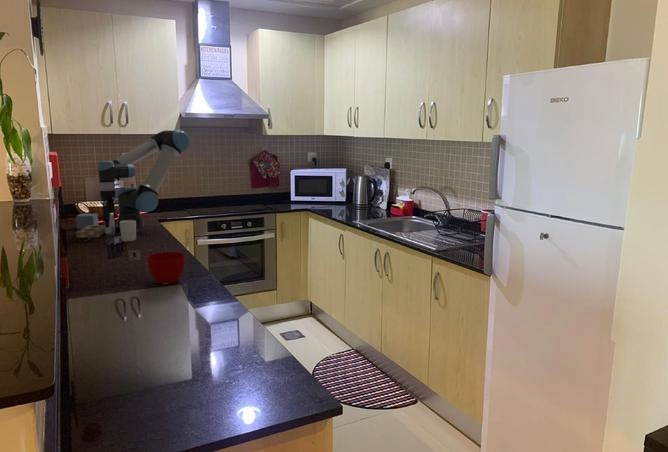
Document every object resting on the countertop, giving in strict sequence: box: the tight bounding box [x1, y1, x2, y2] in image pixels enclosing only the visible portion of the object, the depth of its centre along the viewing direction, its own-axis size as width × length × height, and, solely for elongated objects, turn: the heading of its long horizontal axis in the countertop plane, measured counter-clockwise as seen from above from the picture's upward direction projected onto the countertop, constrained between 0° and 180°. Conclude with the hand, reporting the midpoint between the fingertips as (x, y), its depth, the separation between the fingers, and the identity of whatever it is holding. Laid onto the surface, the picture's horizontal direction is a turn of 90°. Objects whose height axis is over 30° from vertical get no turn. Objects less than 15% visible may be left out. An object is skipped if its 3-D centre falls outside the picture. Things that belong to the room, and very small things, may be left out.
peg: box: [105, 212, 116, 237], centre depth 268 cm, size 4×4×12 cm
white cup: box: [119, 220, 137, 243], centre depth 255 cm, size 8×8×10 cm
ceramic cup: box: [147, 251, 185, 284], centre depth 184 cm, size 13×17×10 cm
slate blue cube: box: [75, 213, 99, 230], centre depth 287 cm, size 9×9×8 cm
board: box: [75, 224, 106, 239], centre depth 271 cm, size 11×20×3 cm, turn 10°
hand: (110, 231), depth 269 cm, fingers open, 8 cm apart
